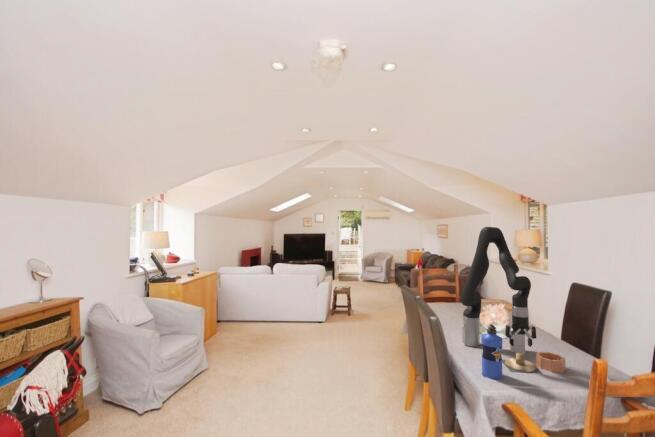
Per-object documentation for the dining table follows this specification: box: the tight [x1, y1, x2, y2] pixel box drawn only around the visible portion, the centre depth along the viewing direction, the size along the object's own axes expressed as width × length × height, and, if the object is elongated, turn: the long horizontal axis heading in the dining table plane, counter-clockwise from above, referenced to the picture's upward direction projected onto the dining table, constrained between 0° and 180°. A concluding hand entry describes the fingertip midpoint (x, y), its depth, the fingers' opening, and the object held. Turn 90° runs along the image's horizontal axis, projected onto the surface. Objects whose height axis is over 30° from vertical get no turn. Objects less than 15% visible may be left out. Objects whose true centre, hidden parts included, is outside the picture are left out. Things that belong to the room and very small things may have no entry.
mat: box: [502, 359, 544, 375], centre depth 172 cm, size 15×15×1 cm
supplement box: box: [508, 328, 526, 355], centre depth 193 cm, size 7×7×13 cm
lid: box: [504, 353, 537, 372], centre depth 172 cm, size 14×14×6 cm
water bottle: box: [480, 324, 503, 380], centre depth 163 cm, size 9×9×25 cm
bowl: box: [535, 351, 566, 373], centre depth 171 cm, size 12×12×6 cm
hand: (520, 345), depth 172 cm, fingers open, 8 cm apart
